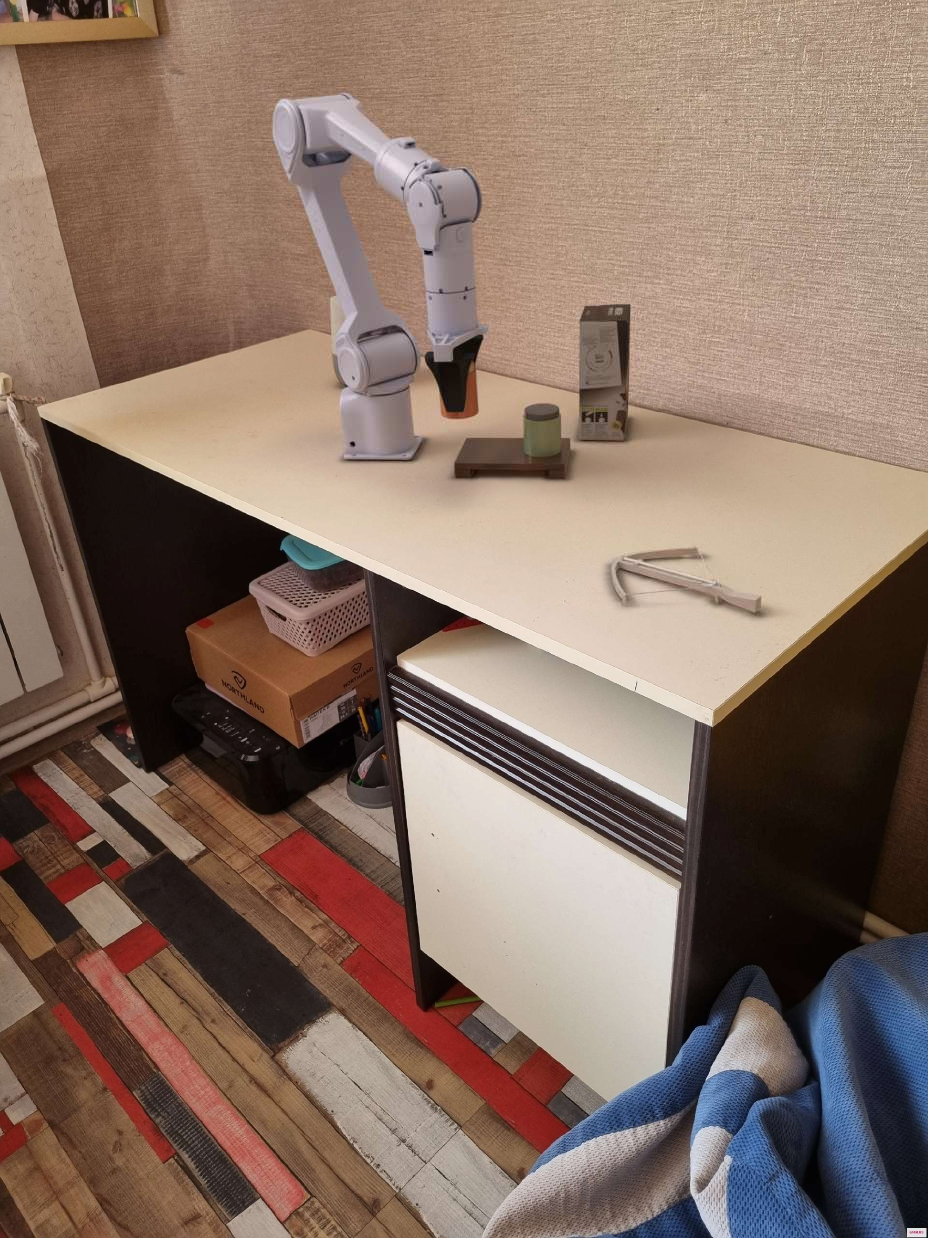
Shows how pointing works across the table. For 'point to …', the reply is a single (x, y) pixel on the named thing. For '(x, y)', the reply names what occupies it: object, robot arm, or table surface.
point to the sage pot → (542, 430)
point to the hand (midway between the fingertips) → (458, 404)
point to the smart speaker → (336, 324)
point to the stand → (508, 457)
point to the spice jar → (471, 399)
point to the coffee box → (604, 372)
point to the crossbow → (680, 577)
